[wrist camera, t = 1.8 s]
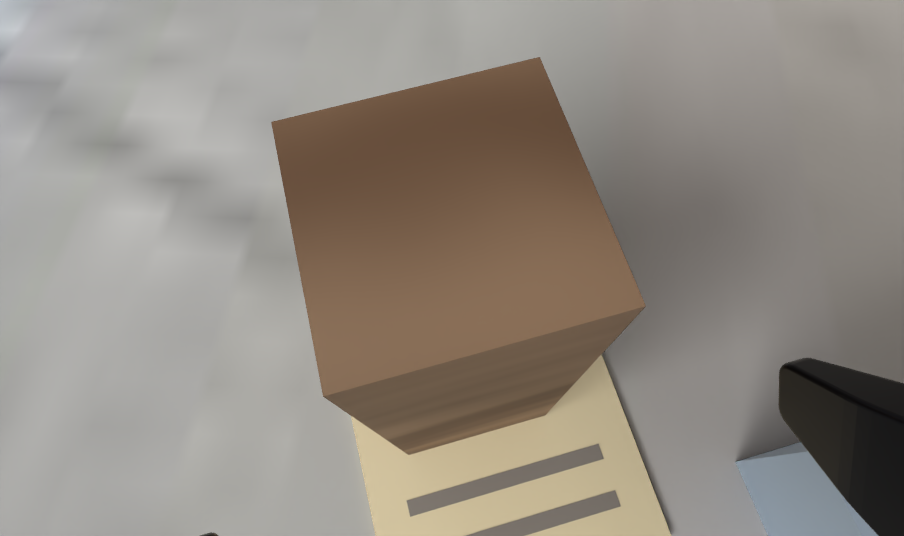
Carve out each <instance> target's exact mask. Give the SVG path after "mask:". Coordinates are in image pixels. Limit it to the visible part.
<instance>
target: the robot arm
mask: <svg viewBox="0 0 904 536" xmlns="http://www.w3.org/2000/svg"><path fill="white" fill-rule="evenodd" d="M779 410H780V413H781V415H782V417H783V419H784V421H785V422H786V424H787V425H788V426H789V427H790V429H791V430H792V431H793V433H794V434H795V435H796V437H797V438H798V439H799V440H800V442H801V443H802V444H803V446H804V447H805V448H806V449H807V451H808V452H809V453H810V455H811V456H812V457H813V459H814V460H815V461H816V462H817V464H818V465H819V466H820V468H821V469H822V470H823V472H824V473H825V474H826V475H827V477H828V478H829V479H830V481H831V482H832V483H833V485H834V486H835V487H836V488H837V490H838V491H839V492H840V493H841V495H842V496H843V497H844V498H845V499H846V501H847V502H848V503H849V504H850V505H851V506H852V508H853V509H854V510H855V511H856V512H857V513H858V514H859V515H860V517H861V518H862V519H863V520H864V521H865V522H866V523H867V524H868V525H869V526H870V527H871V528H872V529H873V531H874V532H875V533H876V534H877V535H878V536H904V383H900V382H896V381H893V380H889V379H885V378H882V377H878V376H874V375H871V374H867V373H863V372H860V371H856V370H852V369H849V368H845V367H841V366H838V365H834V364H830V363H827V362H823V361H819V360H816V359H812V358H802V359H799V360H795V361H792V362H788V363H785V364H784V365H782V367H781V369H780V372H779ZM201 536H218V535H217V534H216V533H207V534H204V535H201Z"/></svg>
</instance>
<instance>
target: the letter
mask: <svg viewBox="0 0 904 536" xmlns="http://www.w3.org/2000/svg"><path fill="white" fill-rule="evenodd" d="M351 418H352V422H353V427H354V432H355V437H356V442H357V447H358V452H359V457H360V462H361V467H362V471H363V476H364V481H365V486H366V491H367V496H368V501H369V506H370V511H371V516H372V520H373V525H374V530H375V535H376V536H671V534H670V531H669V528H668V526H667V523H666V521H665V518H664V515H663V513H662V510H661V507H660V505H659V502H658V500H657V497H656V494H655V492H654V489H653V487H652V484H651V481H650V479H649V476H648V474H647V471H646V468H645V466H644V463H643V461H642V458H641V455H640V453H639V450H638V448H637V445H636V442H635V440H634V437H633V435H632V432H631V429H630V427H629V424H628V422H627V419H626V416H625V414H624V411H623V409H622V406H621V403H620V401H619V398H618V396H617V393H616V390H615V388H614V385H613V383H612V380H611V377H610V375H609V372H608V370H607V367H606V364H605V362H604V359H603V357H602V354H601V355H600V356H599V358H598V359H597V360H596V361H595V362H594V363H593V364H592V365H591V366H590V367H589V368H588V369H587V371H586V372H585V373H584V374H583V375H582V376H581V377H580V378H579V379H578V380H577V381H576V383H575V384H574V385H573V386H572V387H571V388H570V389H569V390H568V391H567V392H566V393H565V394H564V396H563V397H562V398H561V399H560V400H559V401H558V402H557V403H556V404H555V405H554V406H553V407H552V409H551V410H550V411H549V412H548V413H547V414H546V415H545V416H542V417H538V418H535V419H531V420H528V421H524V422H521V423H518V424H514V425H511V426H507V427H504V428H500V429H497V430H493V431H490V432H487V433H483V434H480V435H476V436H473V437H469V438H466V439H463V440H459V441H456V442H452V443H449V444H445V445H442V446H439V447H435V448H432V449H428V450H425V451H421V452H418V453H414V454H411V455H408V454H406V453H405V452H403V451H402V450H400V449H399V448H397V447H396V446H394V445H393V444H392V443H390V442H389V441H387V440H386V439H384V438H383V437H381V436H380V435H379V434H377V433H376V432H374V431H373V430H371V429H370V428H368V427H367V426H365V425H364V424H363V423H361V422H360V421H358V420H357V419H355V418H354V417H352V416H351Z"/></svg>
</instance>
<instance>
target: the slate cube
mask: <svg viewBox="0 0 904 536" xmlns="http://www.w3.org/2000/svg"><path fill="white" fill-rule="evenodd" d="M736 464H737V467H738V469H739V471H740V473H741V476H742V478H743V480H744V482H745V485H746V487H747V489H748V491H749V494H750V496H751V498H752V500H753V503H754V505H755V507H756V509H757V512H758V514H759V516H760V518H761V521H762V523H763V525H764V527H765V530H766V532H767V534H768V536H878V535H877V534H876V533H875V532H874V531H873V529H872V528H871V527H870V526H869V525H868V524H867V523H866V522H865V521H864V520H863V519H862V518H861V517H860V515H859V514H858V513H857V512H856V511H855V510H854V509H853V508H852V506H851V505H850V504H849V503H848V502H847V501H846V499H845V498H844V497H843V496H842V495H841V493H840V492H839V491H838V490H837V488H836V487H835V486H834V485H833V483H832V482H831V481H830V479H829V478H828V477H827V475H826V474H825V473H824V472H823V470H822V469H821V468H820V466H819V465H818V464H817V462H816V461H815V460H814V459H813V457H812V456H811V455H810V453H809V452H808V451H807V449H806V448H805V447H804V446H803V444H802V443H801V442H799V443H795V444H792V445H789V446H786V447H782V448H779V449H776V450H773V451H769V452H766V453H763V454H759V455H756V456H753V457H750V458H746V459H743V460H740V461H737V462H736Z"/></svg>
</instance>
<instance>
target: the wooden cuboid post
mask: <svg viewBox="0 0 904 536" xmlns="http://www.w3.org/2000/svg"><path fill="white" fill-rule="evenodd" d="M271 123H272V128H273V133H274V139H275V144H276V149H277V155H278V160H279V165H280V170H281V176H282V181H283V186H284V192H285V197H286V202H287V207H288V213H289V218H290V223H291V229H292V234H293V239H294V244H295V250H296V255H297V260H298V266H299V271H300V276H301V281H302V287H303V292H304V297H305V303H306V308H307V313H308V318H309V324H310V329H311V334H312V340H313V345H314V350H315V355H316V361H317V366H318V371H319V377H320V382H321V387H322V392H323V397H325V398H326V399H328V400H329V401H331V402H332V403H333V404H335V405H336V406H338V407H339V408H341V409H342V410H344V411H345V412H347V413H348V414H349V415H351V416H352V417H354V418H355V419H357V420H358V421H360V422H361V423H363V424H364V425H365V426H367V427H368V428H370V429H371V430H373V431H374V432H376V433H377V434H379V435H380V436H381V437H383V438H384V439H386V440H387V441H389V442H390V443H392V444H393V445H394V446H396V447H397V448H399V449H400V450H402V451H403V452H405V453H406V454H408V455H411V454H414V453H418V452H421V451H425V450H428V449H432V448H435V447H439V446H442V445H445V444H449V443H452V442H456V441H459V440H463V439H466V438H469V437H473V436H476V435H480V434H483V433H487V432H490V431H493V430H497V429H500V428H504V427H507V426H511V425H514V424H518V423H521V422H524V421H528V420H531V419H535V418H538V417H542V416H545V415H546V414H547V413H548V412H549V411H550V410H551V409H552V407H553V406H554V405H555V404H556V403H557V402H558V401H559V400H560V399H561V398H562V397H563V396H564V394H565V393H566V392H567V391H568V390H569V389H570V388H571V387H572V386H573V385H574V384H575V383H576V381H577V380H578V379H579V378H580V377H581V376H582V375H583V374H584V373H585V372H586V371H587V369H588V368H589V367H590V366H591V365H592V364H593V363H594V362H595V361H596V360H597V359H598V358H599V356H600V355H601V354H602V353H603V352H604V351H605V350H606V349H607V348H608V347H609V346H610V345H611V343H612V342H613V341H614V340H615V339H616V338H617V337H618V336H619V335H620V334H621V333H622V331H623V330H624V329H625V328H626V327H627V326H628V325H629V324H630V323H631V322H632V321H633V320H634V318H635V317H636V316H637V315H638V314H639V313H640V312H641V311H642V310H643V309H644V308H645V307H646V305H645V303H644V301H643V298H642V296H641V294H640V291H639V289H638V286H637V284H636V282H635V279H634V277H633V275H632V272H631V270H630V268H629V265H628V263H627V261H626V258H625V256H624V254H623V251H622V249H621V247H620V244H619V242H618V240H617V237H616V235H615V233H614V230H613V228H612V226H611V223H610V221H609V219H608V216H607V214H606V211H605V209H604V207H603V204H602V202H601V200H600V197H599V195H598V193H597V190H596V188H595V186H594V183H593V181H592V179H591V176H590V174H589V172H588V169H587V167H586V165H585V162H584V160H583V158H582V155H581V153H580V151H579V148H578V146H577V144H576V141H575V139H574V136H573V134H572V132H571V129H570V127H569V125H568V122H567V120H566V118H565V115H564V113H563V111H562V108H561V106H560V104H559V101H558V99H557V97H556V94H555V92H554V90H553V87H552V85H551V83H550V80H549V78H548V76H547V73H546V71H545V69H544V66H543V64H542V61H541V59H540V57H538V58H534V59H530V60H525V61H521V62H517V63H513V64H509V65H505V66H501V67H497V68H492V69H488V70H484V71H480V72H476V73H472V74H468V75H464V76H459V77H455V78H451V79H447V80H443V81H439V82H435V83H431V84H426V85H422V86H418V87H414V88H410V89H406V90H402V91H398V92H393V93H389V94H385V95H381V96H377V97H373V98H369V99H364V100H360V101H356V102H352V103H348V104H344V105H340V106H336V107H331V108H327V109H323V110H319V111H315V112H311V113H307V114H303V115H298V116H294V117H290V118H286V119H282V120H278V121H274V122H271Z"/></svg>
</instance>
